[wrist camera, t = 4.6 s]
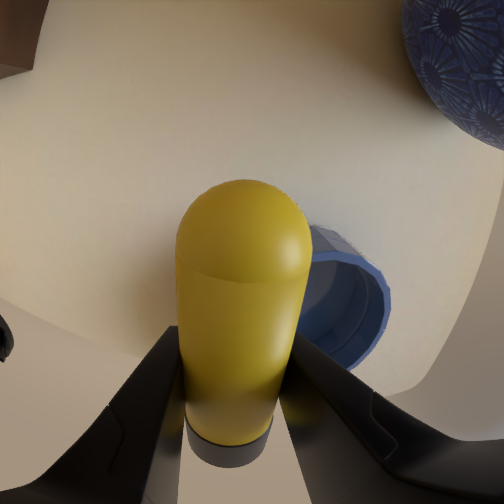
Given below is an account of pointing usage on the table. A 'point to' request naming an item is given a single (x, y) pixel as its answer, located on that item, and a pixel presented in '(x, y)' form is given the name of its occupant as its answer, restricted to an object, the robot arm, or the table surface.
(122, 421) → the robot arm
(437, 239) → the table surface
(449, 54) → the planter
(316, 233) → the bowl
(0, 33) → the block
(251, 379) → the marker
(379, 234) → the table surface
